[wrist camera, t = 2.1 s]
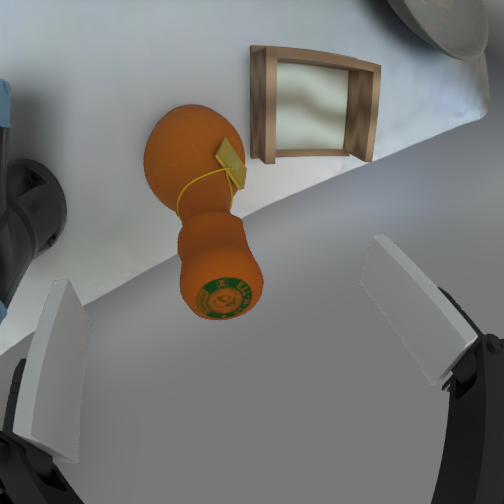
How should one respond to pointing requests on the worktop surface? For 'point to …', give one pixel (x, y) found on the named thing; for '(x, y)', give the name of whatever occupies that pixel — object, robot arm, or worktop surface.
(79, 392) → the robot arm
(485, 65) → the worktop surface
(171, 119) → the wine bottle
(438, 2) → the bowl
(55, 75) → the worktop surface
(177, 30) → the worktop surface
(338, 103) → the walnut U-rest
